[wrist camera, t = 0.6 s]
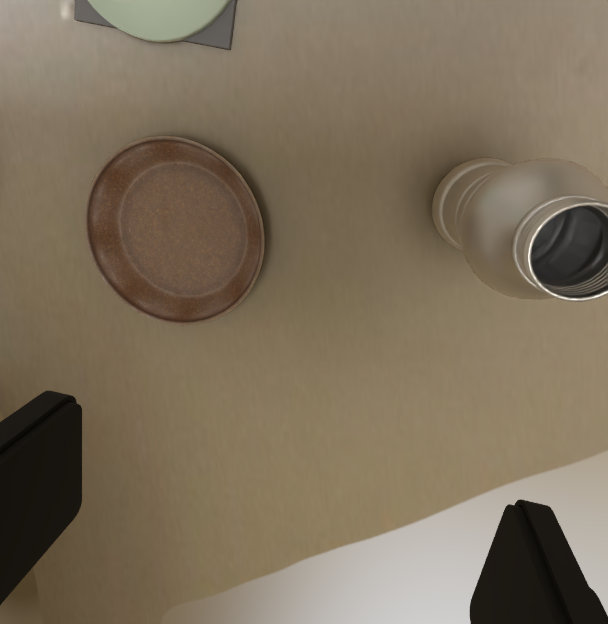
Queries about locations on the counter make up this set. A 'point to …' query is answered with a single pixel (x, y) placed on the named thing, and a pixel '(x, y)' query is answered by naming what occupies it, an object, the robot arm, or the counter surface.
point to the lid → (161, 17)
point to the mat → (211, 36)
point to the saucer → (174, 230)
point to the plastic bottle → (528, 226)
